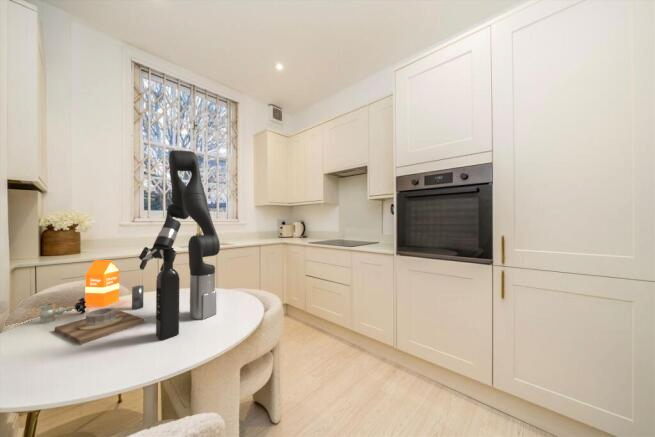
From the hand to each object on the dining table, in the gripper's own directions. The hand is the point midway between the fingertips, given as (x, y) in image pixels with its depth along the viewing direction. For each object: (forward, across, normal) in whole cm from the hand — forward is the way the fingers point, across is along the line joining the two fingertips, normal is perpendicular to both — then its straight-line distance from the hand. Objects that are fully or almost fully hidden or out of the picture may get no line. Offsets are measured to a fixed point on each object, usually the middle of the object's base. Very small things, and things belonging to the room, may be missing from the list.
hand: (151, 270), depth 110 cm
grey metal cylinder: (+16, -2, +6) cm, 17 cm away
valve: (+23, -24, 0) cm, 33 cm away
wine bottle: (+28, +24, -19) cm, 41 cm away
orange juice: (+14, -21, +14) cm, 29 cm away
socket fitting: (+26, -3, -10) cm, 27 cm away
